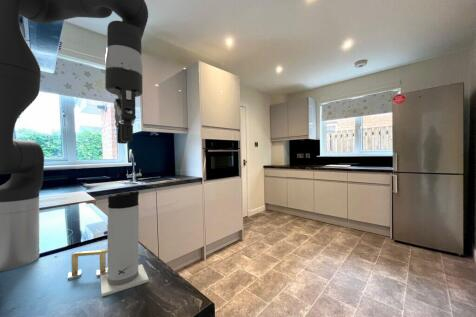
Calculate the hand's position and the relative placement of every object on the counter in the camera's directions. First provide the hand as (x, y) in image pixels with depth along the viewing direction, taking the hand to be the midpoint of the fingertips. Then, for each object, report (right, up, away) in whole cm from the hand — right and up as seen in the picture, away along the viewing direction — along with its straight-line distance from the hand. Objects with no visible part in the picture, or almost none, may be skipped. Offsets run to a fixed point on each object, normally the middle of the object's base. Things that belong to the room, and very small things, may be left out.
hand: (124, 142), depth 48 cm
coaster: (0, -32, 0) cm, 32 cm away
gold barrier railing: (-8, -32, +4) cm, 33 cm away
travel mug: (0, -32, 0) cm, 32 cm away
